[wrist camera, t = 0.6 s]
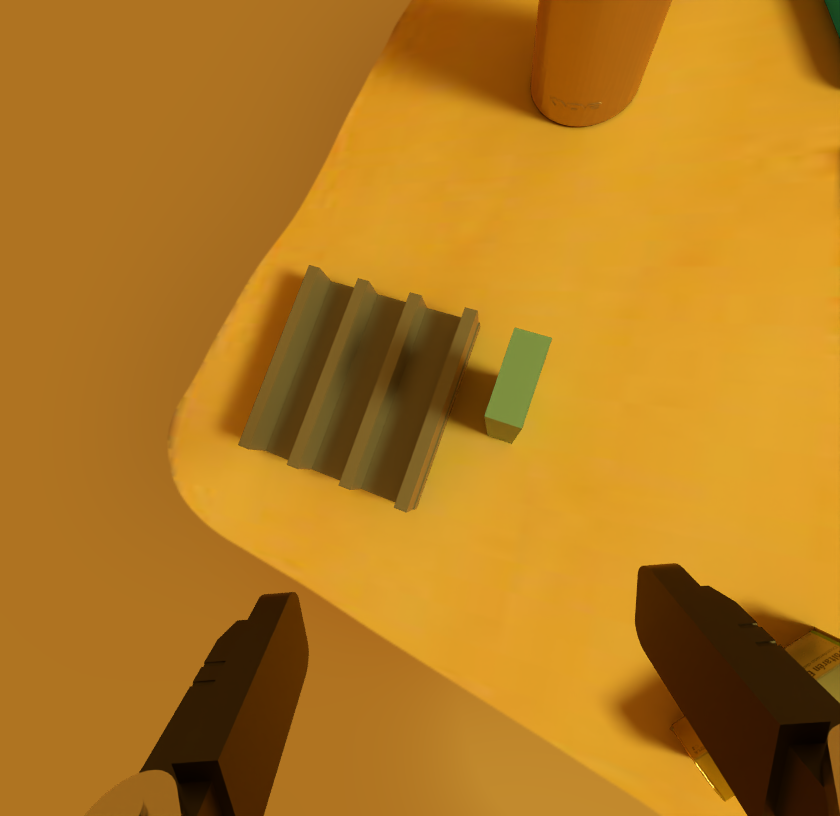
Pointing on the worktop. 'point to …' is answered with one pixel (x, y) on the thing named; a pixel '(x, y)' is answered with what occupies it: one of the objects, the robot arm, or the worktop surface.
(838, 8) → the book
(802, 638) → the medication box
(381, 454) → the rack
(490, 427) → the card
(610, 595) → the worktop surface
